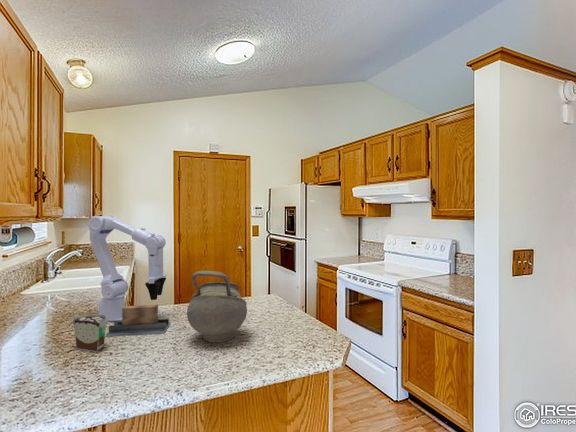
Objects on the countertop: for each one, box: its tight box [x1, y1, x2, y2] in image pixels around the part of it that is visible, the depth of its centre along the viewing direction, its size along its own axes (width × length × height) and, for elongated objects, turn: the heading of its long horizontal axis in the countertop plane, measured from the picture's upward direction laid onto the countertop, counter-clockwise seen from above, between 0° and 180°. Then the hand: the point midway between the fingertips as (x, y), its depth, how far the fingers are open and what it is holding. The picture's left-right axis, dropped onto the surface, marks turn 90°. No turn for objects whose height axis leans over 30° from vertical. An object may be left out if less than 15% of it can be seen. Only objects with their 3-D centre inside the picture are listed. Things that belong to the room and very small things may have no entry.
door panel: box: [121, 304, 159, 325], centre depth 124 cm, size 12×3×8 cm, turn 98°
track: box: [105, 318, 171, 338], centre depth 124 cm, size 20×10×3 cm, turn 98°
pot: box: [186, 270, 248, 343], centre depth 115 cm, size 21×21×25 cm
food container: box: [72, 313, 109, 353], centre depth 109 cm, size 12×6×10 cm, turn 71°
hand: (156, 297), depth 136 cm, fingers open, 7 cm apart
